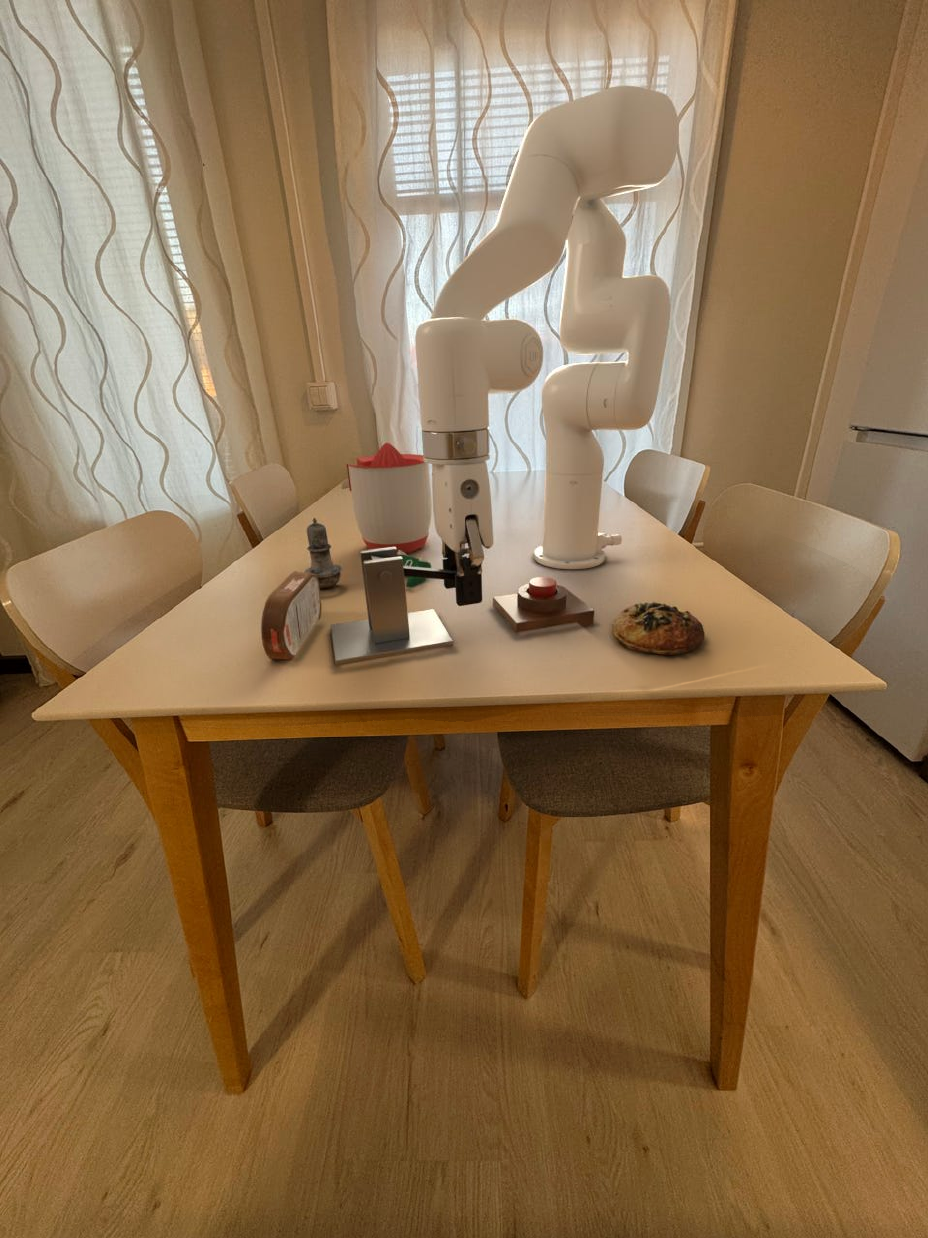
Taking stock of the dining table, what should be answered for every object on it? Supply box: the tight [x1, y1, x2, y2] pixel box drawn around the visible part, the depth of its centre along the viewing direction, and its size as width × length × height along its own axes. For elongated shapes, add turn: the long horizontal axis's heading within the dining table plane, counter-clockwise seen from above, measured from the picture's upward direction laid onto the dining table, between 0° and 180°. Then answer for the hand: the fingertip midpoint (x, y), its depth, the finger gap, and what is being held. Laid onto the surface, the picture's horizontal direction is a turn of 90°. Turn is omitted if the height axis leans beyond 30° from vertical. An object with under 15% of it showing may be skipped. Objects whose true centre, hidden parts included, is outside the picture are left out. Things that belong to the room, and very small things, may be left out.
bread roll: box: [612, 601, 706, 656], centre depth 62 cm, size 11×11×5 cm
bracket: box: [330, 547, 454, 666], centre depth 61 cm, size 14×10×12 cm
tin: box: [260, 570, 322, 661], centre depth 63 cm, size 15×3×8 cm, turn 178°
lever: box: [370, 556, 458, 581], centre depth 61 cm, size 12×5×2 cm, turn 106°
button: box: [528, 576, 557, 597], centre depth 67 cm, size 4×4×2 cm
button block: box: [492, 583, 595, 633], centre depth 68 cm, size 11×9×4 cm
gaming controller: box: [397, 550, 432, 588], centre depth 83 cm, size 9×4×6 cm
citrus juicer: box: [341, 442, 433, 554], centre depth 97 cm, size 16×17×20 cm
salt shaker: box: [303, 517, 343, 590], centre depth 78 cm, size 6×6×12 cm
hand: (462, 593), depth 64 cm, fingers closed on lever, 5 cm apart
